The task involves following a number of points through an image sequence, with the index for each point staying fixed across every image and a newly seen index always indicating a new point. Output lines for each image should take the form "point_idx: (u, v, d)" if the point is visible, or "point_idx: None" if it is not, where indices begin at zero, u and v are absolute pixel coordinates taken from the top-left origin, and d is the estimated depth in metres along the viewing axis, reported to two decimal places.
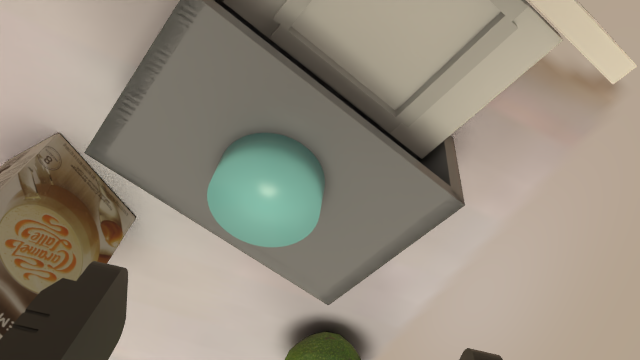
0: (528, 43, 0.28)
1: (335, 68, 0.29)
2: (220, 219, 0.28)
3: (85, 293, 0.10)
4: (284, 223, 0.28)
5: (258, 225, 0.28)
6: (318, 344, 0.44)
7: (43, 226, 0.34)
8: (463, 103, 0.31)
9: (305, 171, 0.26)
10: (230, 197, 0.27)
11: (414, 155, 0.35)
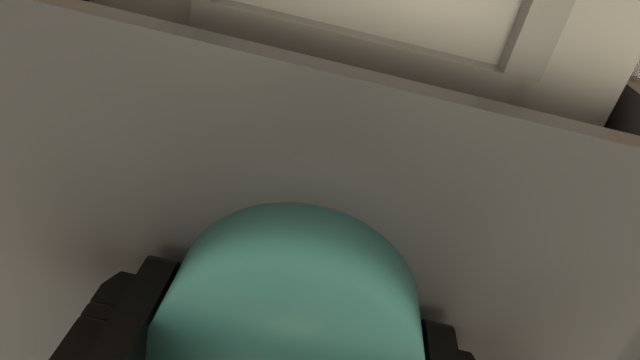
0: None
1: (334, 32, 0.14)
2: None
3: (146, 285, 0.11)
4: None
5: None
6: None
7: None
8: None
9: (338, 264, 0.10)
10: None
11: None
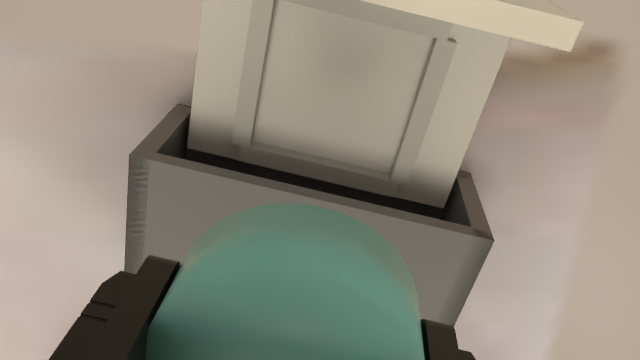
0: (480, 51, 0.26)
1: (309, 160, 0.29)
2: None
3: (146, 285, 0.11)
4: None
5: None
6: None
7: None
8: (451, 137, 0.28)
9: (338, 266, 0.10)
10: None
11: (438, 207, 0.32)
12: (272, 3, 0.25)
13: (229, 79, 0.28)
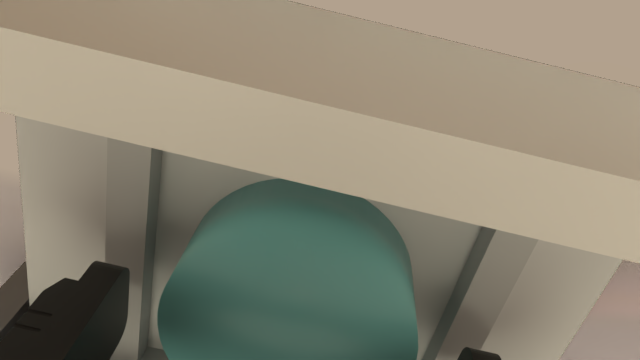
0: None
1: None
2: None
3: (87, 293, 0.10)
4: None
5: None
6: None
7: None
8: (521, 355, 0.15)
9: (337, 230, 0.11)
10: (214, 349, 0.12)
11: None
12: None
13: (92, 251, 0.14)
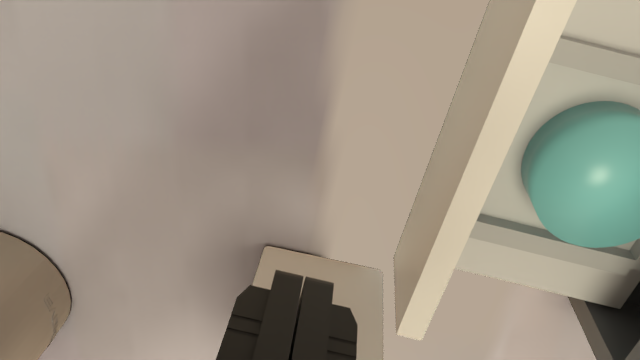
0: None
1: None
2: None
3: (283, 299, 0.12)
4: (632, 158, 0.21)
5: None
6: None
7: None
8: None
9: (541, 157, 0.22)
10: (608, 223, 0.23)
11: None
12: (480, 222, 0.25)
13: (552, 261, 0.27)
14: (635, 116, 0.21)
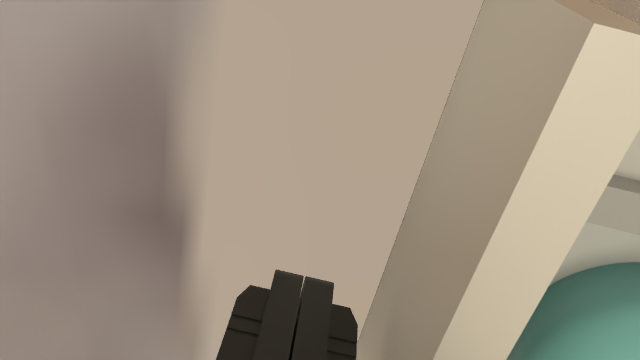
0: None
1: None
2: None
3: (283, 299, 0.12)
4: None
5: None
6: None
7: None
8: None
9: None
10: None
11: None
12: None
13: None
14: None
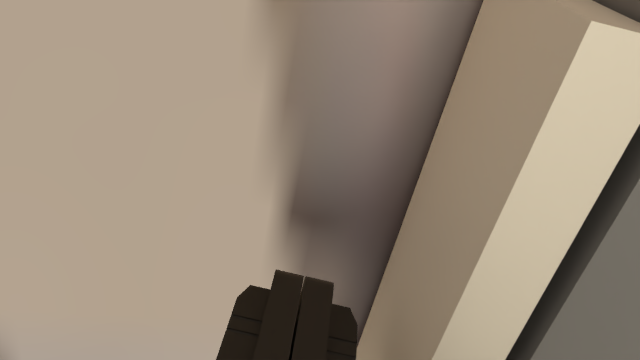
0: None
1: None
2: None
3: (283, 299, 0.12)
4: None
5: None
6: None
7: None
8: None
9: None
10: None
11: None
12: None
13: None
14: None
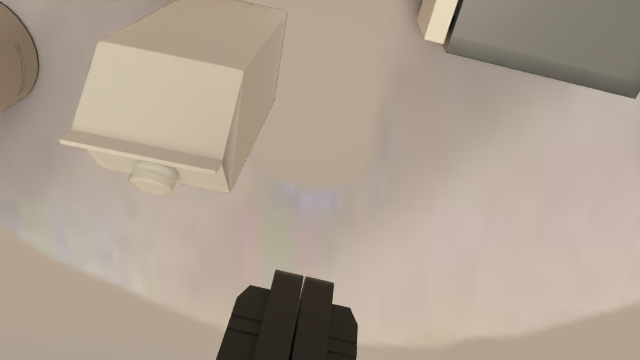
0: None
1: None
2: None
3: (283, 299, 0.12)
4: None
5: None
6: None
7: None
8: None
9: None
10: None
11: None
12: None
13: None
14: None
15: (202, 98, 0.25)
